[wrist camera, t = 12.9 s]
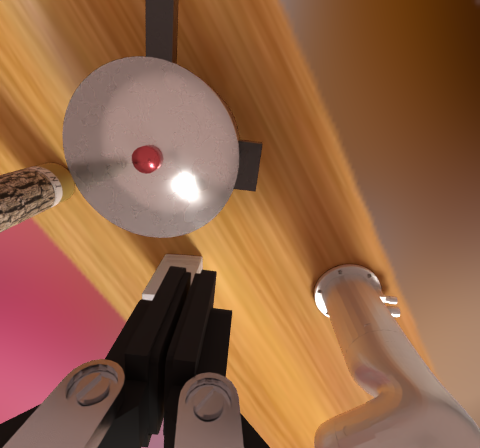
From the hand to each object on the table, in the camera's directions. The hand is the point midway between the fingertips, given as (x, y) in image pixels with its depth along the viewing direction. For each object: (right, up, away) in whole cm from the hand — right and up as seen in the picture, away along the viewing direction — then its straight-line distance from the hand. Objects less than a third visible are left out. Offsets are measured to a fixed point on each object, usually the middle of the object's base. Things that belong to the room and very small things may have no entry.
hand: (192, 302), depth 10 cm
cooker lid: (-9, +11, +25) cm, 29 cm away
